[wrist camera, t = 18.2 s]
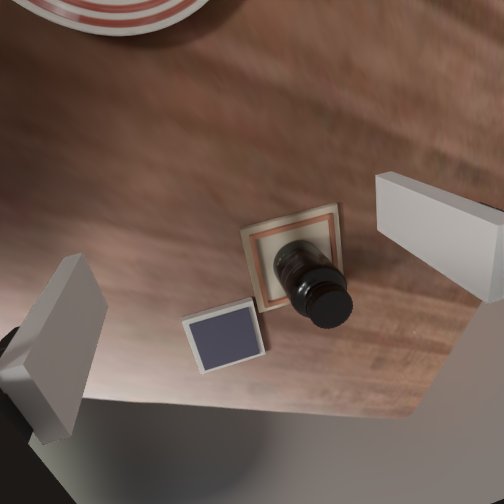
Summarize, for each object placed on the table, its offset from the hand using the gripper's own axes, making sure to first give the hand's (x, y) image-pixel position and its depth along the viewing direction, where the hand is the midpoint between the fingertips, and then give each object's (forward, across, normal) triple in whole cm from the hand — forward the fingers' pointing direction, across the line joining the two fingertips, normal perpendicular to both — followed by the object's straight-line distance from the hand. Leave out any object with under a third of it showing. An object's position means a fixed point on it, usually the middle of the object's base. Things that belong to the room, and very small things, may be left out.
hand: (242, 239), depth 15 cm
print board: (+27, +9, -17) cm, 33 cm away
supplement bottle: (+26, +9, -17) cm, 32 cm away
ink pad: (+27, -3, -26) cm, 37 cm away
